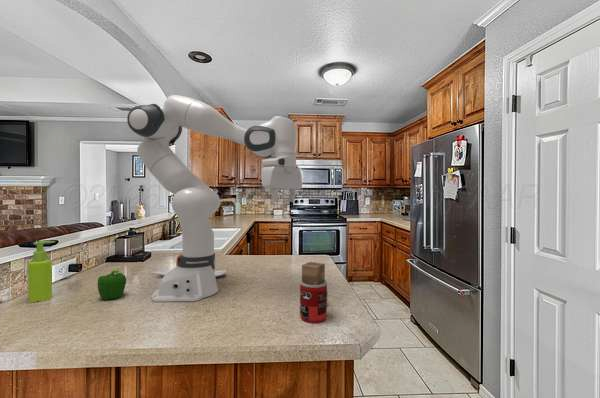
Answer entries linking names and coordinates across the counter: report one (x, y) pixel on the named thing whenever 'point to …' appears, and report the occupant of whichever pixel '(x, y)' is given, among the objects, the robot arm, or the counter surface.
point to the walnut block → (313, 273)
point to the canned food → (313, 302)
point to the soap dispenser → (40, 275)
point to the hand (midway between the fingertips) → (283, 201)
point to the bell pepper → (111, 285)
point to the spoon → (165, 270)
